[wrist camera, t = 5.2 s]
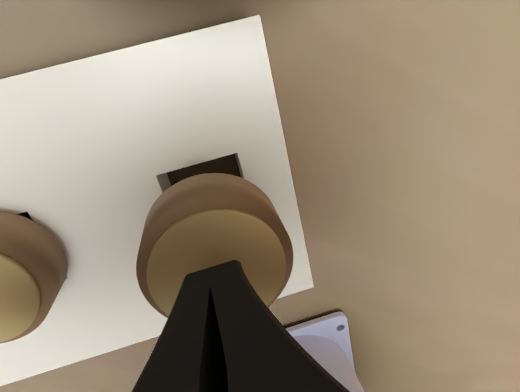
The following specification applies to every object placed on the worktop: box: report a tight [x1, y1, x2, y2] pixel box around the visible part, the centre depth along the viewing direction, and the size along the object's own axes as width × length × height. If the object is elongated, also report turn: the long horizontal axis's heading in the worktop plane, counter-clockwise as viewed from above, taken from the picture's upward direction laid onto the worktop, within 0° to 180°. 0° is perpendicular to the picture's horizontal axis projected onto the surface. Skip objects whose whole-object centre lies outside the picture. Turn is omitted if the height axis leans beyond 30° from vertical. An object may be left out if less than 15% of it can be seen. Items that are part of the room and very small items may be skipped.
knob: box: [136, 173, 293, 318], centre depth 12 cm, size 4×4×5 cm
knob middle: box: [0, 211, 67, 343], centre depth 13 cm, size 4×4×5 cm
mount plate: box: [0, 15, 314, 386], centre depth 14 cm, size 12×23×2 cm, turn 102°
